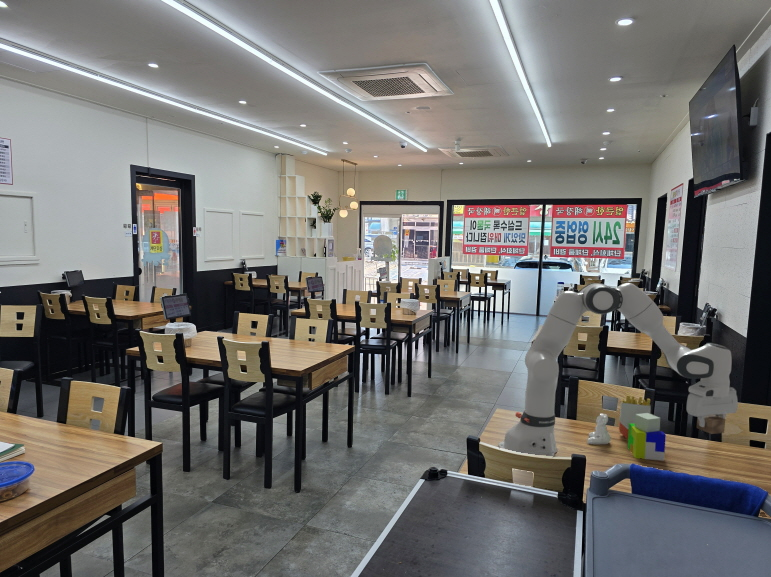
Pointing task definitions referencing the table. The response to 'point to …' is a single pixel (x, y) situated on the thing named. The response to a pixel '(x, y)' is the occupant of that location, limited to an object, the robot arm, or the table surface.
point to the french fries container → (631, 412)
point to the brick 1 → (647, 422)
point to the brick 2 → (713, 424)
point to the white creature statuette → (600, 432)
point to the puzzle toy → (646, 443)
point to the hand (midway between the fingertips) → (710, 425)
